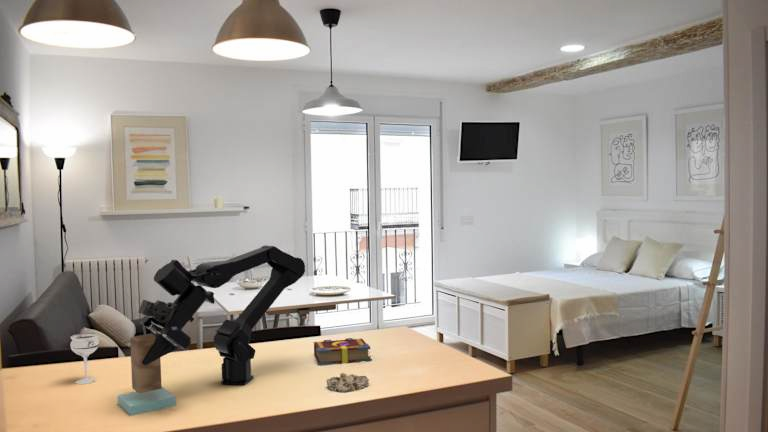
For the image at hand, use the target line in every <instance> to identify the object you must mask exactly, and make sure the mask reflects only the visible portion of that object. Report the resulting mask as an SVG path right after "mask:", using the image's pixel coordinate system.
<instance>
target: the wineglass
mask: <svg viewBox="0 0 768 432" xmlns="http://www.w3.org/2000/svg"><path fill="white" fill-rule="evenodd" d="M98 337H99V333H98V332H83V333H77V334H73V335H70V339H71V342H70V345H69V347H70V349H71V351H72V352H73V353H75V354H76V355H78V356H81V357H82V358H83V365H84V366H83V367H84V378H82V379H78V380H76V381H75V384H77V385H86V384H92V383H94V382H93V381H95V380H96V379H97V378H94V377H88V357H90V355H92V354H93V353H94V352H95V351H97V349H98V348H99V345H100V340H99V338H98ZM96 381H97V380H96ZM96 381H95V382H96ZM91 382H92V383H91Z"/></svg>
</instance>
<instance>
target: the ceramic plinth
mask: <svg viewBox="0 0 768 432" xmlns="http://www.w3.org/2000/svg"><path fill="white" fill-rule="evenodd" d="M176 399H177V398H176V395H174V394H173V393H172V392H170V391H169V390H167V389H166V388H164V387H163V386H162V389H158V390H153V391H149V392H144V393H140V394H139V393H138V392H137V391H133V392H127V393H123V394H118V395H117V405H119V407H121V408H122V409H123V410H124V411H125V412H126V413H127V414H128V415H129V416H131V417H132V416H136V415H139V414H144V413H149V412H153V411H157V410H162V409H166V408H170V407H174V406H177V402H176V401H177V400H176Z"/></svg>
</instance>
